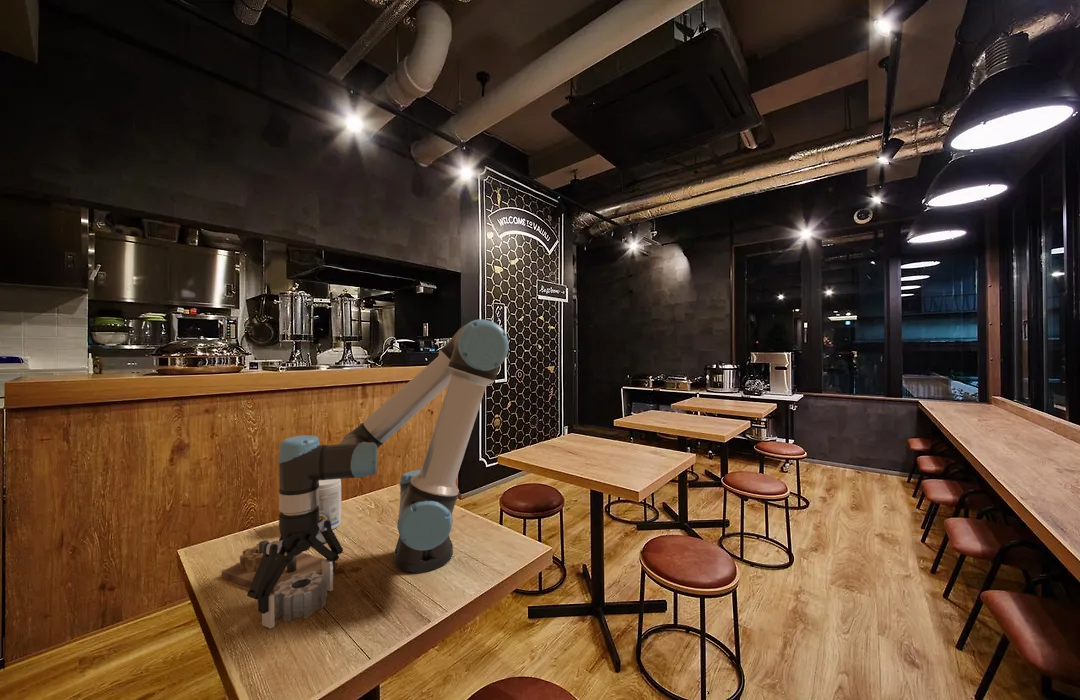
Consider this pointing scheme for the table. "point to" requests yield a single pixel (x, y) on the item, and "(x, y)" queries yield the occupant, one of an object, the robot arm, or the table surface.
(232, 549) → the table surface
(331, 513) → the supplement tub
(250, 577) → the gear board
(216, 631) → the table surface
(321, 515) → the pocket watch
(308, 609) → the steel gear
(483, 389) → the robot arm
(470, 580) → the table surface
